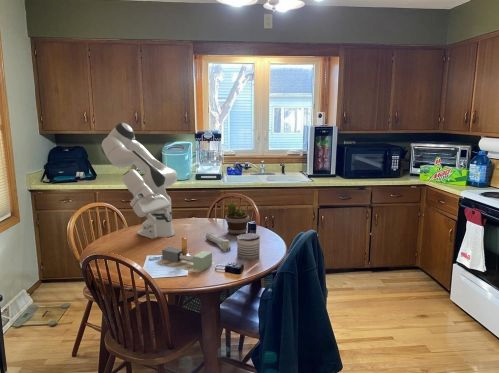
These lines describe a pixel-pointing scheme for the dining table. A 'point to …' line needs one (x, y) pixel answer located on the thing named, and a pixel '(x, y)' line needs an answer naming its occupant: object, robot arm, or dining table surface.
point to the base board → (181, 265)
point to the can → (248, 246)
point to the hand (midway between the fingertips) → (161, 218)
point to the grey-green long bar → (219, 241)
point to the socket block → (202, 260)
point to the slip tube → (185, 252)
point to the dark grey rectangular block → (171, 254)
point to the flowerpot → (236, 220)
